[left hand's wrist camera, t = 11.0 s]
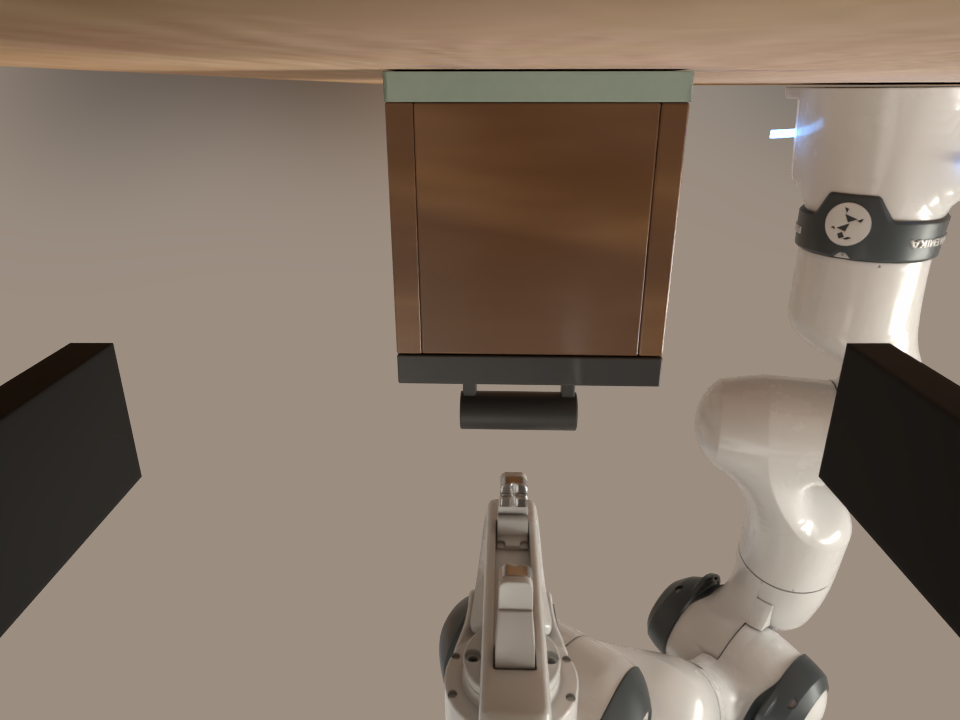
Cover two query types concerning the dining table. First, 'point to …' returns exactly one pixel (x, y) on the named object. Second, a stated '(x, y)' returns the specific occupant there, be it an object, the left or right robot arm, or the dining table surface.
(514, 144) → the chest
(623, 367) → the lid
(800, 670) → the right robot arm
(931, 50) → the dining table surface
